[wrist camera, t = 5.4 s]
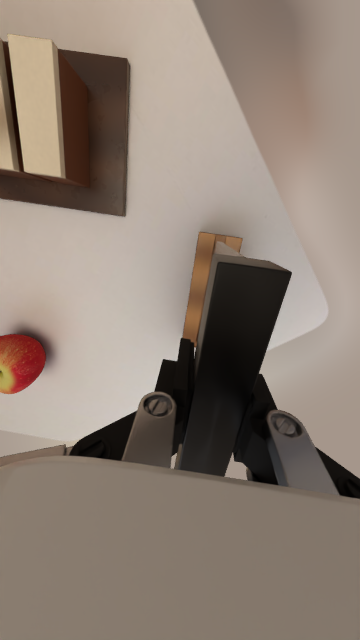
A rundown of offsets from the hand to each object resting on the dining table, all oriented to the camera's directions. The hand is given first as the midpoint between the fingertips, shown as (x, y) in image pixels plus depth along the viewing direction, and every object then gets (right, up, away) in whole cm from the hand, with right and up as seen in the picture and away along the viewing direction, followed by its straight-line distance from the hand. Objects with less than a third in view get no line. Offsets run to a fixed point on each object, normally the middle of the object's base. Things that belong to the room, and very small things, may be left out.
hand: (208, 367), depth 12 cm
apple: (-26, -2, +25) cm, 36 cm away
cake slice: (-13, +22, +12) cm, 29 cm away
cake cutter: (0, +3, +6) cm, 7 cm away
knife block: (+2, +6, +19) cm, 20 cm away
